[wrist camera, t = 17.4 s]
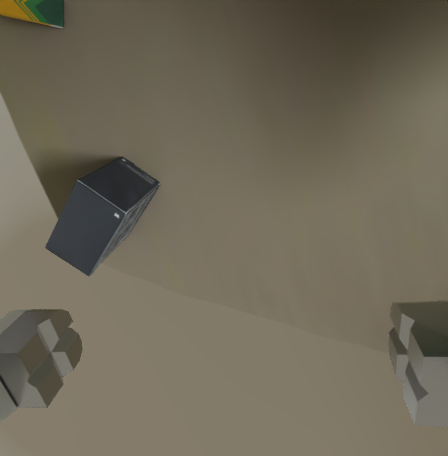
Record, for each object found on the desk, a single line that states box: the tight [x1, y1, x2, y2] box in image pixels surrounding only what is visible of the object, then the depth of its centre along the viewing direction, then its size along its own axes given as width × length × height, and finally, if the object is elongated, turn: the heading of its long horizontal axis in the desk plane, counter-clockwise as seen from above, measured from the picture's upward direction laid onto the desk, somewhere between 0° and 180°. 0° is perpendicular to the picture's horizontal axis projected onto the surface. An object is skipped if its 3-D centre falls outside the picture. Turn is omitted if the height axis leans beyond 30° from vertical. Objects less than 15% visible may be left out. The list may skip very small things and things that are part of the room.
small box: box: [45, 157, 160, 276], centre depth 40 cm, size 11×6×10 cm, turn 145°
